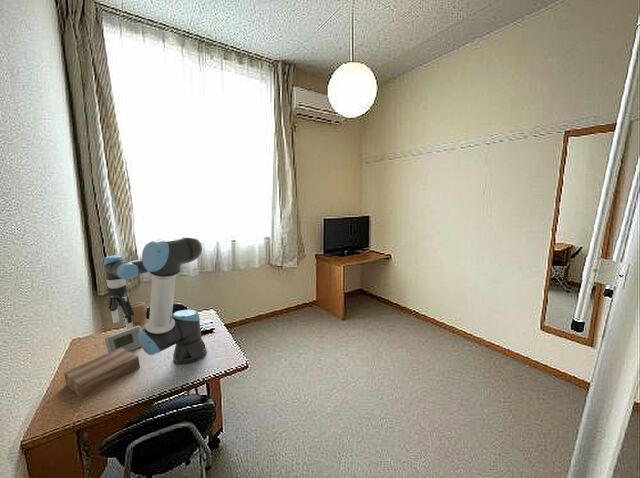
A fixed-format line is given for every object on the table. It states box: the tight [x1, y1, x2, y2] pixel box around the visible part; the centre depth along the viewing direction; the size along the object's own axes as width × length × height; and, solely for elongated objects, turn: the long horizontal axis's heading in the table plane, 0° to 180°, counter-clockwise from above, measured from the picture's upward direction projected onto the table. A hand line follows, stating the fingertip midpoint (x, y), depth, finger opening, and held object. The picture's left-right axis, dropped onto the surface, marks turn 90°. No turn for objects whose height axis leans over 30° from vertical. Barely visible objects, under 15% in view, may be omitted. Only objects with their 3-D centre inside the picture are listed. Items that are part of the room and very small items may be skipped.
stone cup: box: [130, 301, 149, 331], centre depth 170 cm, size 15×12×15 cm
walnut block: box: [63, 348, 141, 399], centre depth 125 cm, size 16×22×6 cm
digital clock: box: [104, 326, 141, 353], centre depth 146 cm, size 16×9×11 cm, turn 133°
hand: (123, 325), depth 144 cm, fingers open, 13 cm apart
